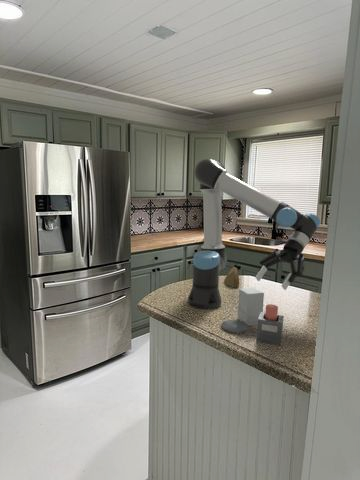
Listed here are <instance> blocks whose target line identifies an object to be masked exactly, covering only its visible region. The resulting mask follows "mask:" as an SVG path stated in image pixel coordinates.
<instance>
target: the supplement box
mask: <svg viewBox="0 0 360 480" xmlns="http://www.w3.org/2000/svg"><path fill="white" fill-rule="evenodd" d="M264 298H265V293H264V292H263V291H261V290H259V289H257V288H256V287H246V288H239V289H238V300H237V301H238V302H237V305H238V307H237V318H236V319H237V320H238V321H242V322H244V323H246V324H247V325H248V326H250V325H252V326H253V325H258V318H259V315H260V312H263V313H264Z"/></svg>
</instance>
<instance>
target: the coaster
mask: <svg viewBox="0 0 360 480" xmlns="http://www.w3.org/2000/svg"><path fill="white" fill-rule="evenodd" d="M249 326H250V325H247V324H246V323H244V322H242V321H240V320H239V319H228V320H223V322H221V329H222V328H223V329H224V330H223V329H222V330H223V331H224V332H227V331H228V332H227V333H229V332H231V333H230V334H234V333H239V334H240V333H242V334H246V333H247V332H248V331H249ZM239 334H238V335H239ZM240 335H241V334H240Z"/></svg>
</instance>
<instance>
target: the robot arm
mask: <svg viewBox="0 0 360 480" xmlns="http://www.w3.org/2000/svg"><path fill="white" fill-rule="evenodd" d="M193 174H194V178H195V180H197V182H198V183H199V191H200V192H201V193H202V198H203V199H202V200H203V202H202V203H203V204H202V206H203V208H202V209H203V244H202V245H201V246H200V250H199V251H197V252H195V253H194V255H193V259H192V264H193V265H192V266H193V267H192V286H191V290H190V292H189V294H188V298H187V304H188V305H189V306H190V307H192V308H195V309H198V310H199V309H200V310H215V309H218V308H220V307H221V306H222V297H221V293H220V290H219V281H220V280H219V279H220V273H222V272H223V270H225V268H226V266H227V264H228V256H227V254H226V245H224V244H223V231H222V230H223V229H222V228H223V227H222V226H223V225H222V223H223V222H222V221H223V220H222V219H223V218H222V217H223V215H222V194H223V193H225V194H226V195H228V196H229V197H231V198H233V199H235V200H237V201H239V202H241V203H242V204H244V205H246V206H248V207H249V208H251V209H253V210H254V211H256V212H258V213H260V214H261V215H264V216H265V217H267V218H269V219H271V220H272V221H274V222H276V223H277V224H278V225H280V226H281V227H283V228H291V229H292V230H294V231H293V232H292V233H291V234H290V236H289V238H288V239H287V240H286V242H285V243H284V245H283V249H282V250H279V249H278V248H275V249H274V250H273V251H272V252H271V253H269V254H268V255H267V256H266V257H263V259H262V260H259V264H260V267H259V269H258V271H257V274H256V275H255V277H254V278H255V279H256V280H257V281H258V282H260V281H261V280H262V278H263V277H264V275H265V274H266V273H267V271H268V268H269V267H271V266H274V265H276V264H278V263H282V262H283V263H287V264H290V269H291V272H289V273H288V275H287V276H286V278H285V279H284V281H283V282H282V284H281V287H282V289H283V290H284V291H286V290H288V289H287V288H288V287H290V284H292V283H294V281H295V280H296V278H297V277H299V278H301V277H303V271H304V261H305V259H306V258H305V256H304V254H303V251H304V249H305V248H306V247H307V245H308V244H309V242H310V240H311V239H312V238H313V237H314V234H315V233H316V231H318V228H319V226H320V224H321V220H320V218H319V217H318V216H317V215H316V214H314V213H311V212H310V213H309V212H307V213H305V214H303V213H301V212H299V211H298V209H295V208H294V207H292V206H290V205H289V204H288V203H286V202H283V201H279V200H276V199H275V198H273V197H271V196H269V195H267V194H265V193H264V192H262V191H261V190H258V189H256V188H255V187H253V186H251V185H250V184H248V183H246V182H244V181H242V180H240V179H239V178H237V177H235V176H233V175H231V174H229V173H228V171H227V169H226V167H225V166H224V164H223V163H221V162H220V161H218V160H215V159H212V158H203V159H201V160H200V161H198V162H197V163H196V165H195V167H194V173H193ZM296 260H297V267H296V262H295V261H296Z"/></svg>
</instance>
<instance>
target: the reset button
mask: <svg viewBox="0 0 360 480" xmlns="http://www.w3.org/2000/svg"><path fill="white" fill-rule="evenodd" d="M278 312H279V307H278V305H275V304H272V303H271V304H270V303H269V304H266V305H265V312H264V313H265V319H267V320H273V321H277V315H279V314H278Z"/></svg>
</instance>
